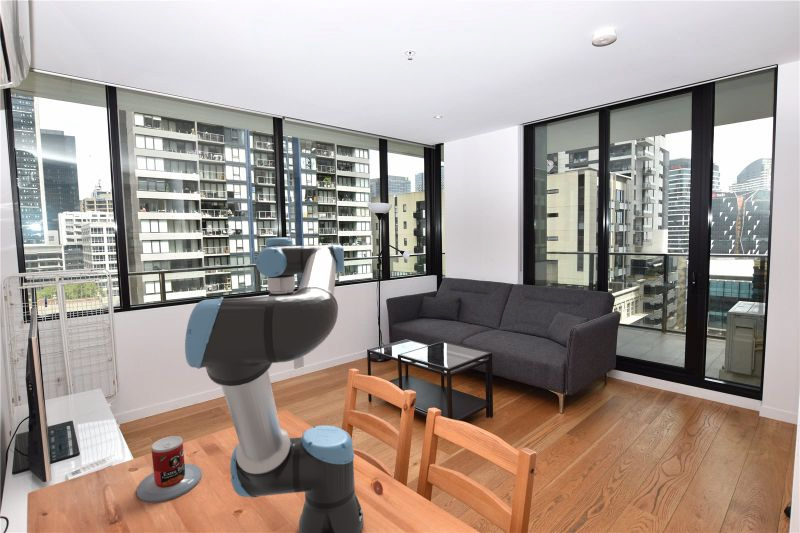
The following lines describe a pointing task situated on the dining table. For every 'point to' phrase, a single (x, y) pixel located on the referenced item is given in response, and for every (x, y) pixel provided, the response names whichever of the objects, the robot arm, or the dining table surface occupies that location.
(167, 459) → the canned food
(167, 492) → the slate plate
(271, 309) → the robot arm
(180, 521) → the dining table surface
